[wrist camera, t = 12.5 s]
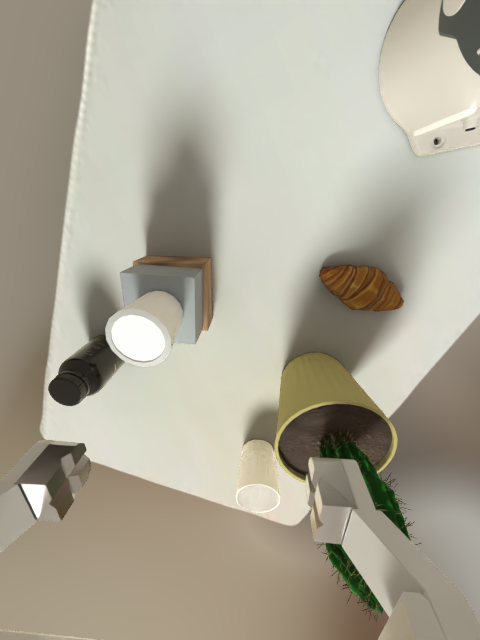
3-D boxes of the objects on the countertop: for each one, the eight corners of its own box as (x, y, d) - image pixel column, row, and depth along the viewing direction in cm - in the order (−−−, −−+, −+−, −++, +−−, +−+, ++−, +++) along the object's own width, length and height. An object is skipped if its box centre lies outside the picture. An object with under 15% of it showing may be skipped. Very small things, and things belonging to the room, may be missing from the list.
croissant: (410, 281, 39) (431, 290, 35) (385, 319, 42) (400, 333, 37) (330, 247, 38) (340, 253, 33) (308, 289, 41) (315, 299, 36)
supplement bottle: (133, 364, 48) (96, 410, 37) (99, 367, 49) (53, 414, 38) (120, 331, 46) (77, 370, 35) (84, 335, 46) (31, 375, 35)
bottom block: (211, 257, 40) (205, 264, 35) (212, 317, 44) (207, 330, 39) (146, 255, 40) (132, 262, 36) (154, 315, 44) (142, 328, 40)
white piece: (128, 286, 31) (95, 309, 25) (183, 284, 31) (164, 308, 25) (140, 335, 34) (114, 367, 28) (191, 335, 34) (176, 367, 28)
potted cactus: (275, 336, 44) (305, 551, 17) (366, 346, 44) (551, 581, 16) (264, 407, 50) (273, 647, 23) (344, 415, 50) (450, 670, 23)
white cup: (243, 433, 53) (240, 480, 44) (280, 441, 54) (285, 489, 45) (235, 459, 57) (231, 507, 47) (271, 466, 57) (273, 516, 48)
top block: (202, 268, 35) (194, 277, 31) (202, 328, 39) (195, 344, 34) (137, 264, 36) (119, 272, 31) (143, 323, 39) (128, 339, 35)
